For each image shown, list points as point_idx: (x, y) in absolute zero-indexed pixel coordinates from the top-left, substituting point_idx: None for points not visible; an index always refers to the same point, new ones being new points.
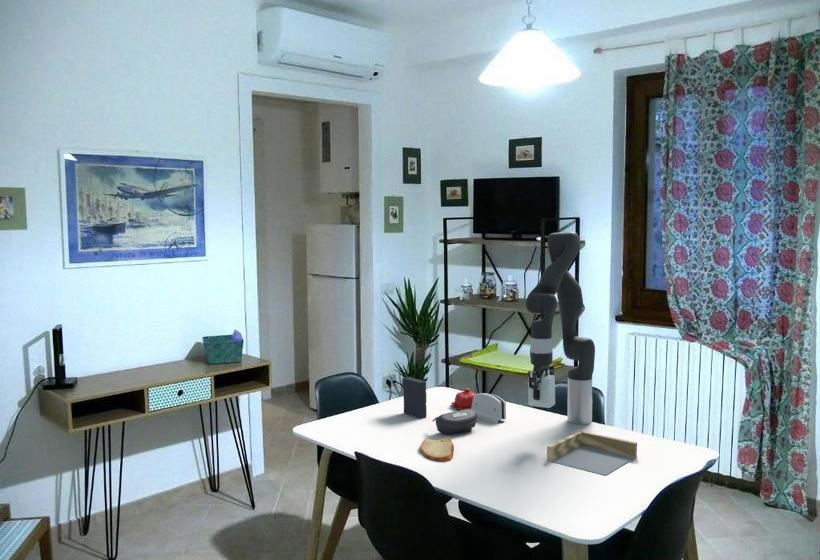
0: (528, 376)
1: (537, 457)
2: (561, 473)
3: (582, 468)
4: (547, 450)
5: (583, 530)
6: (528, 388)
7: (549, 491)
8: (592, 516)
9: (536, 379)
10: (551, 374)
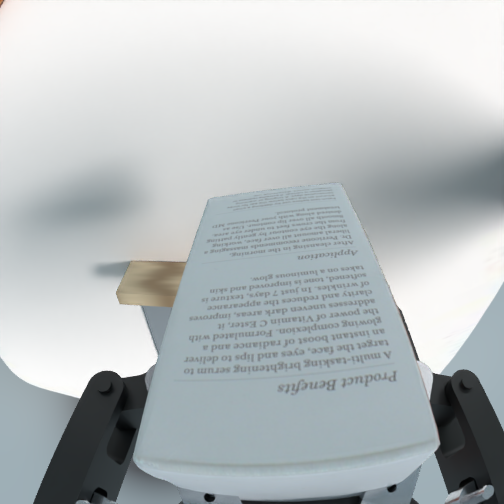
0: (42, 483)
1: (135, 225)
2: (103, 313)
3: (157, 337)
4: (120, 284)
5: (21, 373)
6: (173, 308)
7: (34, 324)
8: (45, 376)
9: (120, 487)
10: (445, 472)
